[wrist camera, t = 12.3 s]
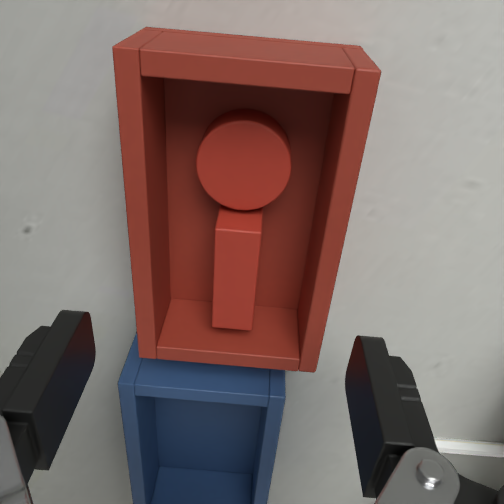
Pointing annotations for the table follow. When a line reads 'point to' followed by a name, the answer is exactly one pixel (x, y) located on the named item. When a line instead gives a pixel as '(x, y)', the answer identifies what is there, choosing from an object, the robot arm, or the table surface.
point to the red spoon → (240, 204)
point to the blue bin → (199, 430)
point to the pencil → (470, 447)
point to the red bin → (206, 209)
